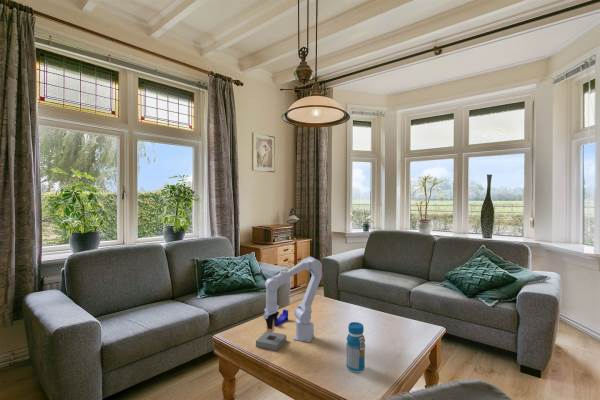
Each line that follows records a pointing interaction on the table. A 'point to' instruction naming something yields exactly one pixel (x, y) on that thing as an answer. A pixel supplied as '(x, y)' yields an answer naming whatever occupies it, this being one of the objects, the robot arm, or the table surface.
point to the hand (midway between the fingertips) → (271, 327)
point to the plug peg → (271, 329)
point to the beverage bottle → (355, 348)
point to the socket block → (271, 341)
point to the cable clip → (282, 317)
